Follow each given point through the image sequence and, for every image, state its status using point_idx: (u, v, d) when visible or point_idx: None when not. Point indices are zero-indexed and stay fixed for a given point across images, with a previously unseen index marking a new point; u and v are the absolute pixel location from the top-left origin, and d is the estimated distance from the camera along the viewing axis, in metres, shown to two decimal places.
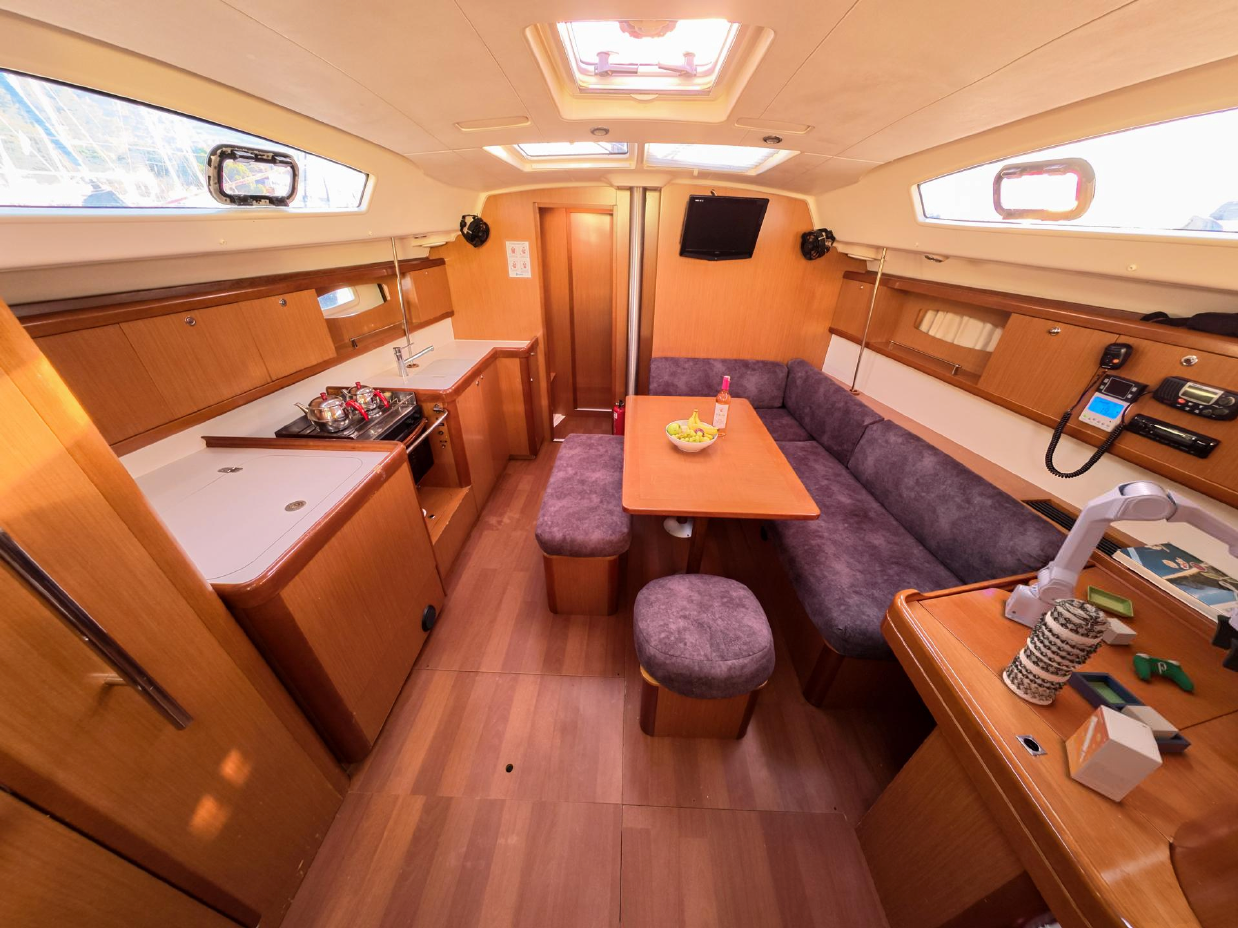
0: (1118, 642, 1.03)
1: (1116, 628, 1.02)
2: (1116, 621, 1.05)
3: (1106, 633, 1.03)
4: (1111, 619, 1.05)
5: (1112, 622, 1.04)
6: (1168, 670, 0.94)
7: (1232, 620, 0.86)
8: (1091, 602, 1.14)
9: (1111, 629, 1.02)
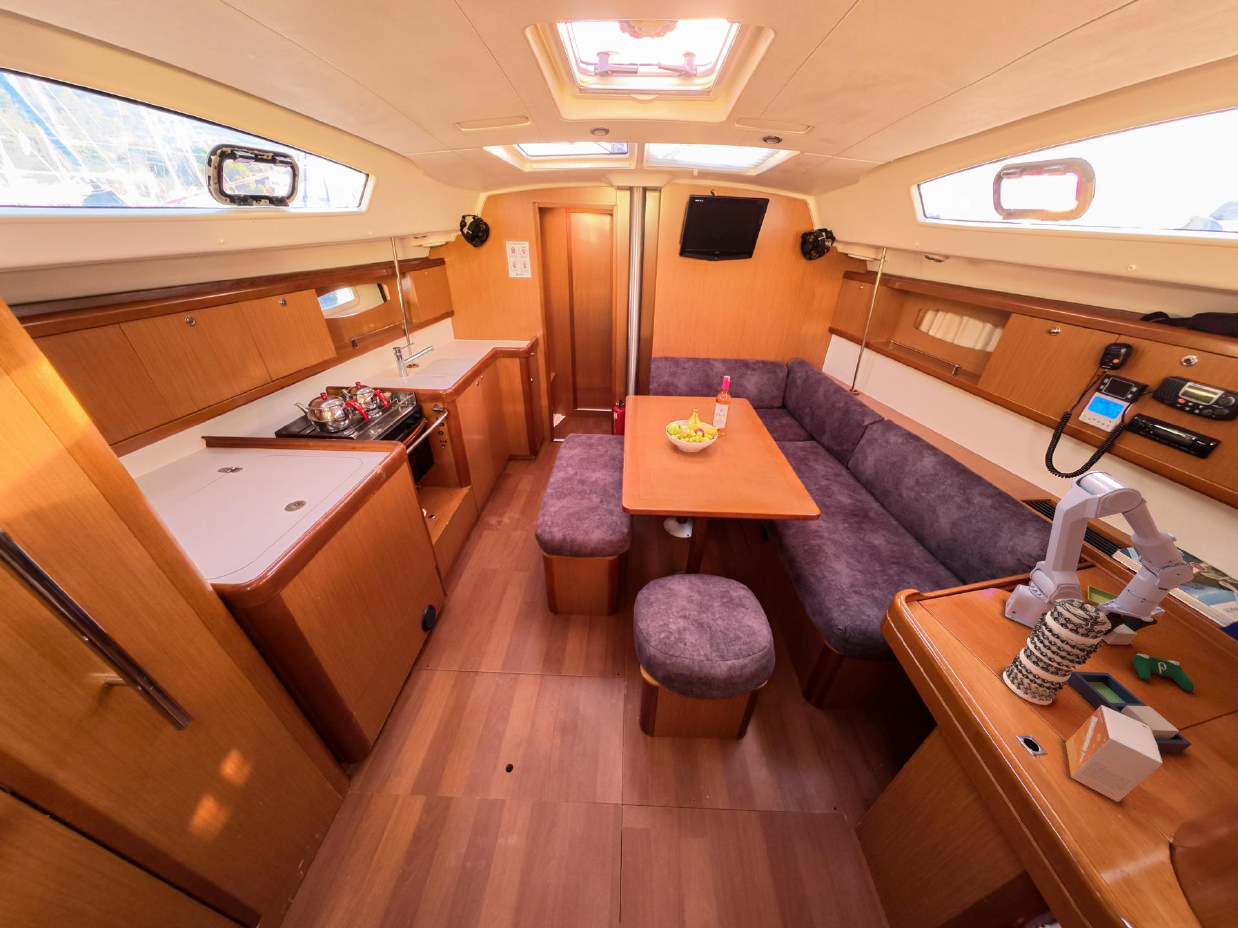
0: (1118, 642, 1.03)
1: (1116, 628, 1.02)
2: None
3: None
4: None
5: None
6: (1168, 670, 0.94)
7: None
8: (1091, 602, 1.14)
9: None
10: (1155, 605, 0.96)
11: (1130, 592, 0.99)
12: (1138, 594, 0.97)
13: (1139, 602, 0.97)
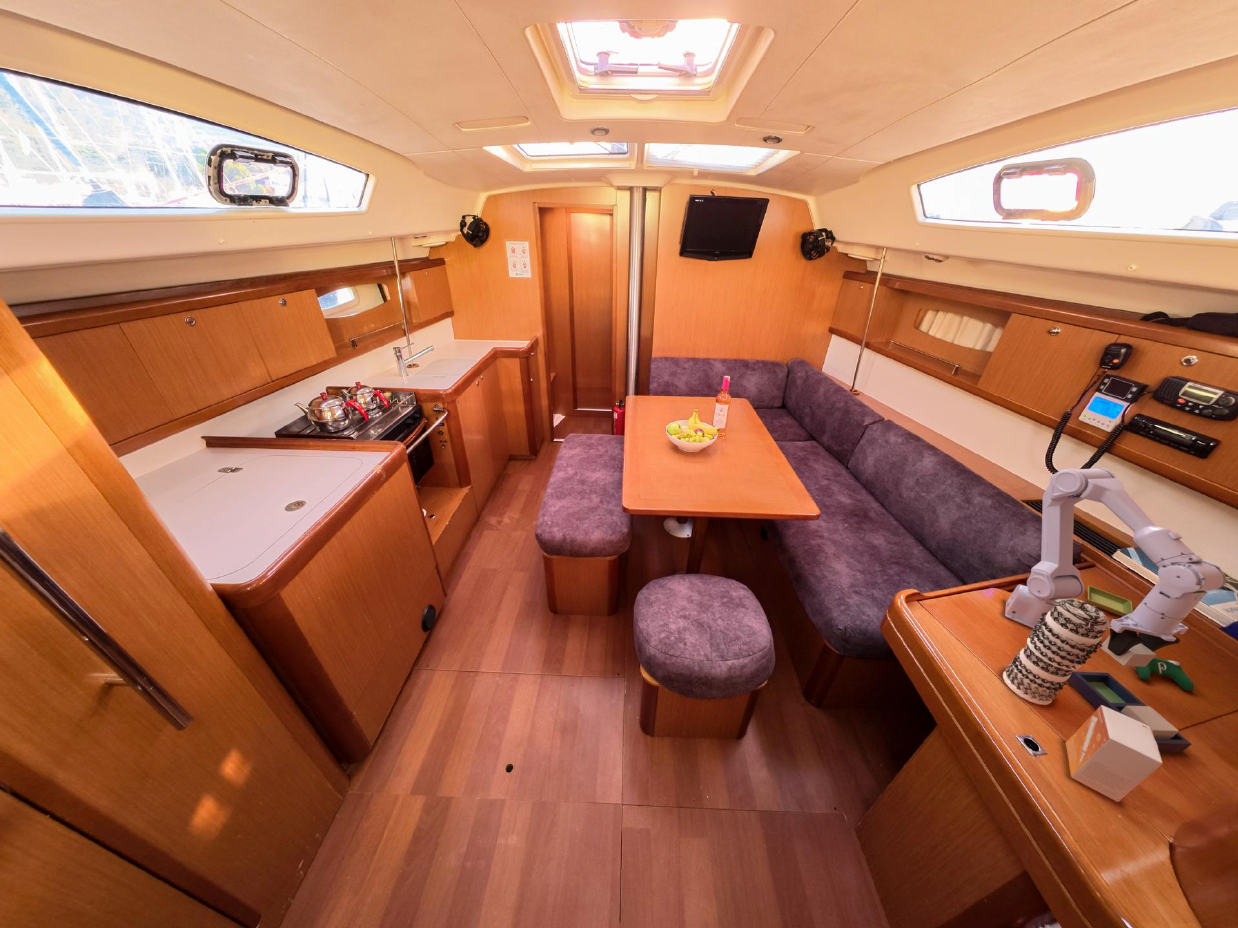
0: (1134, 664, 0.89)
1: (1132, 647, 0.89)
2: None
3: None
4: None
5: None
6: (1168, 670, 0.94)
7: None
8: (1091, 602, 1.14)
9: None
10: (1178, 622, 0.83)
11: (1148, 606, 0.85)
12: (1144, 598, 0.86)
13: (1160, 618, 0.84)
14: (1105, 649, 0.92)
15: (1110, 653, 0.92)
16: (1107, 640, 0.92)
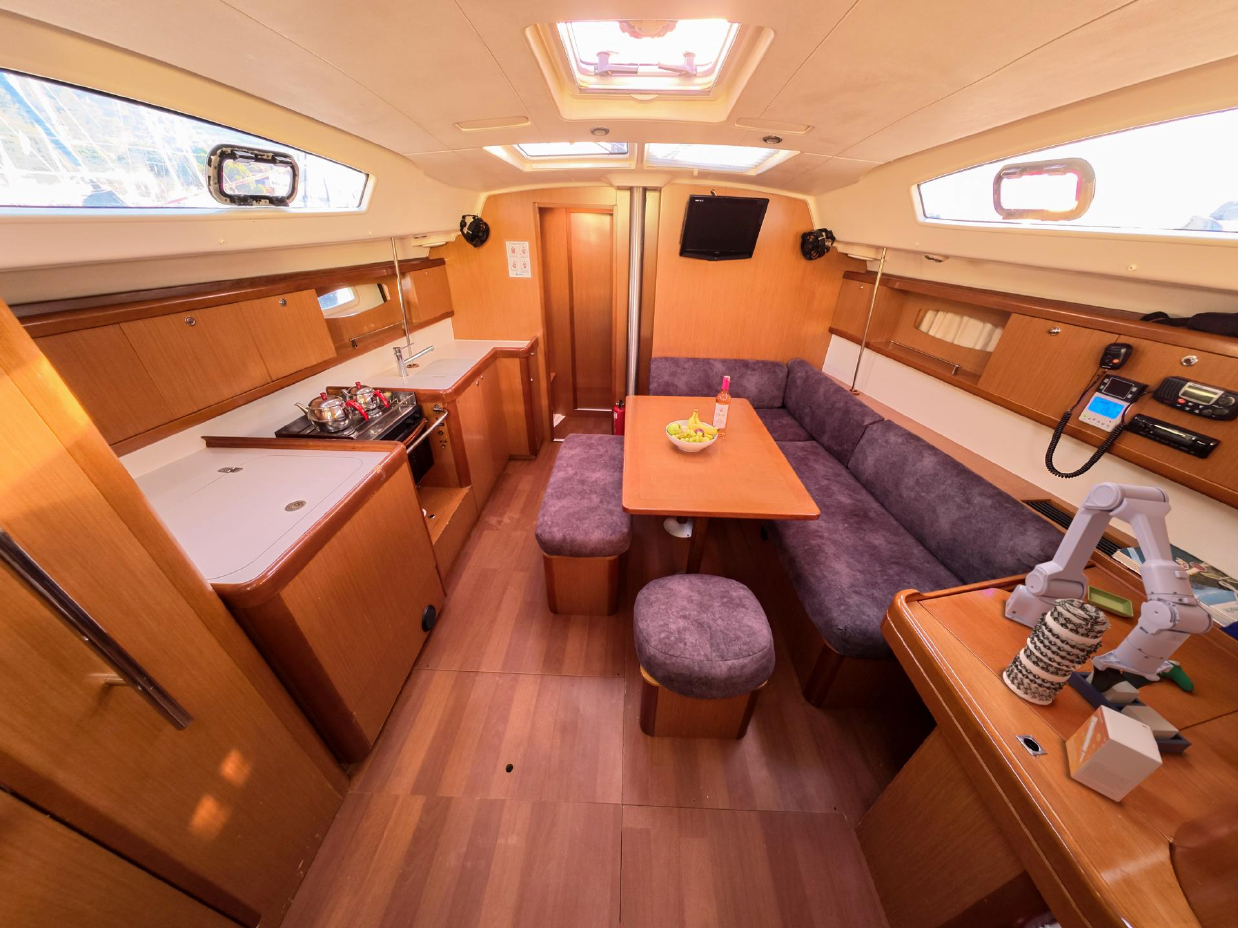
0: (1118, 701, 0.86)
1: (1115, 685, 0.86)
2: None
3: None
4: None
5: None
6: None
7: None
8: (1091, 602, 1.14)
9: None
10: (1162, 661, 0.80)
11: (1132, 644, 0.83)
12: None
13: (1143, 657, 0.81)
14: None
15: None
16: (1091, 676, 0.90)
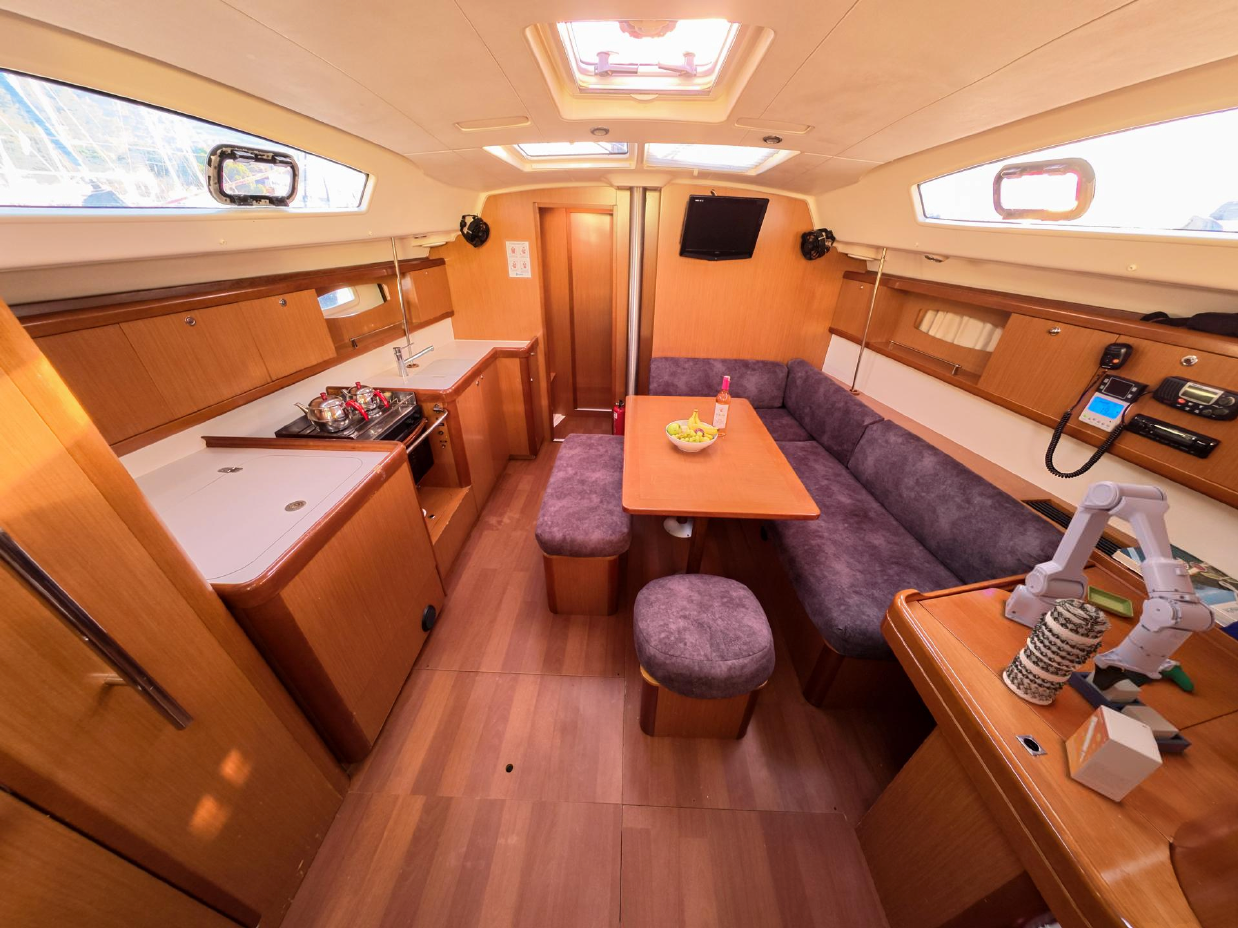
0: (1119, 700, 0.86)
1: (1117, 683, 0.86)
2: None
3: None
4: None
5: None
6: (1168, 670, 0.94)
7: None
8: (1091, 602, 1.14)
9: None
10: (1164, 659, 0.80)
11: (1133, 642, 0.82)
12: None
13: (1145, 655, 0.81)
14: (1090, 683, 0.90)
15: (1095, 687, 0.89)
16: (1092, 674, 0.90)
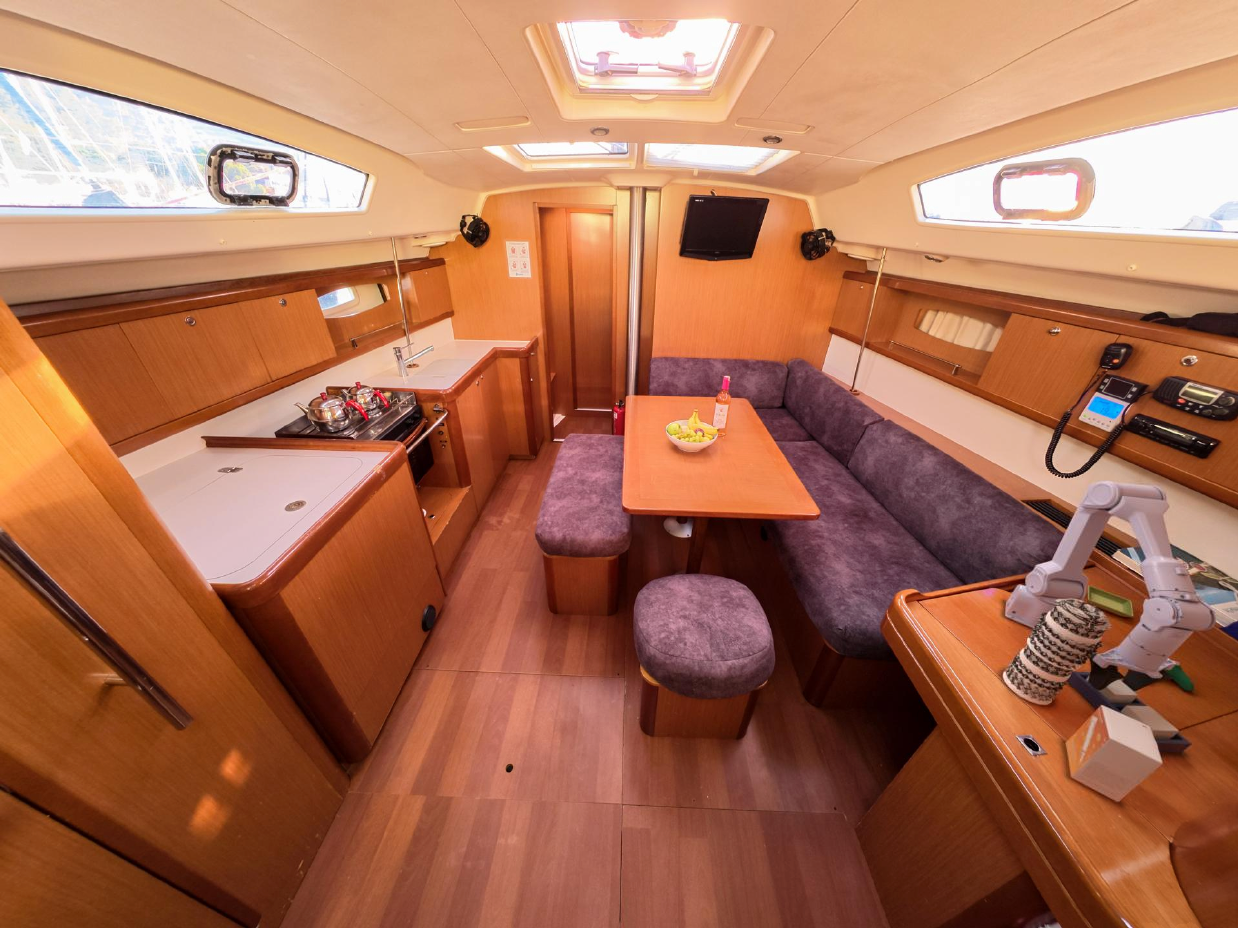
0: None
1: (1113, 687, 0.87)
2: None
3: (1102, 693, 0.88)
4: None
5: None
6: (1168, 670, 0.94)
7: None
8: (1091, 602, 1.14)
9: (1107, 689, 0.87)
10: (1164, 659, 0.80)
11: (1134, 642, 0.82)
12: None
13: (1145, 654, 0.81)
14: None
15: None
16: None
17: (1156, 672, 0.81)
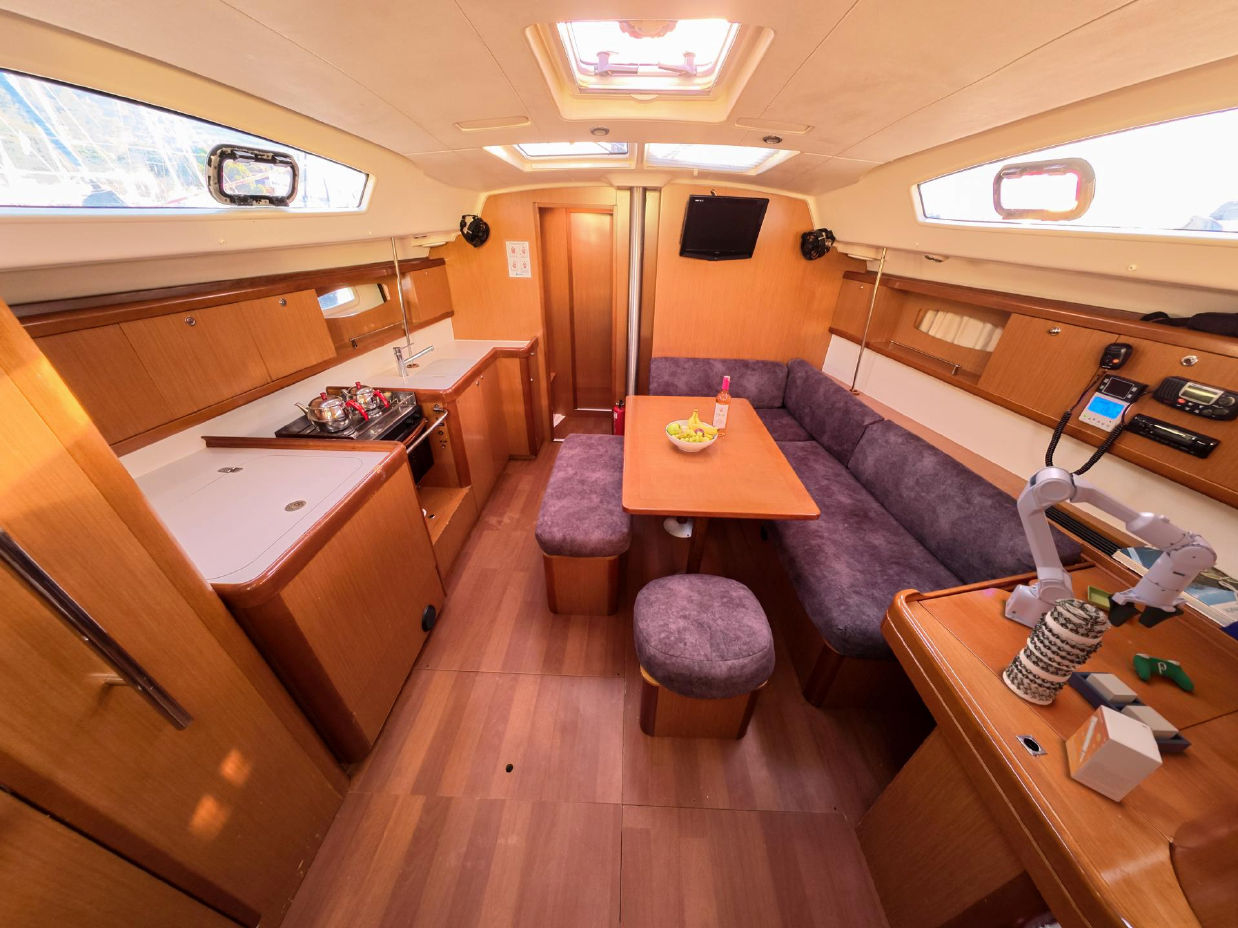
0: None
1: (1113, 687, 0.87)
2: (1113, 678, 0.89)
3: (1102, 693, 0.88)
4: (1107, 675, 0.89)
5: (1109, 679, 0.88)
6: (1168, 670, 0.94)
7: None
8: (1091, 602, 1.14)
9: (1107, 689, 0.87)
10: (1178, 594, 0.89)
11: (1150, 580, 0.91)
12: (1152, 578, 0.91)
13: (1160, 590, 0.90)
14: None
15: None
16: (1089, 678, 0.90)
17: (1170, 606, 0.90)
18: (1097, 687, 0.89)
